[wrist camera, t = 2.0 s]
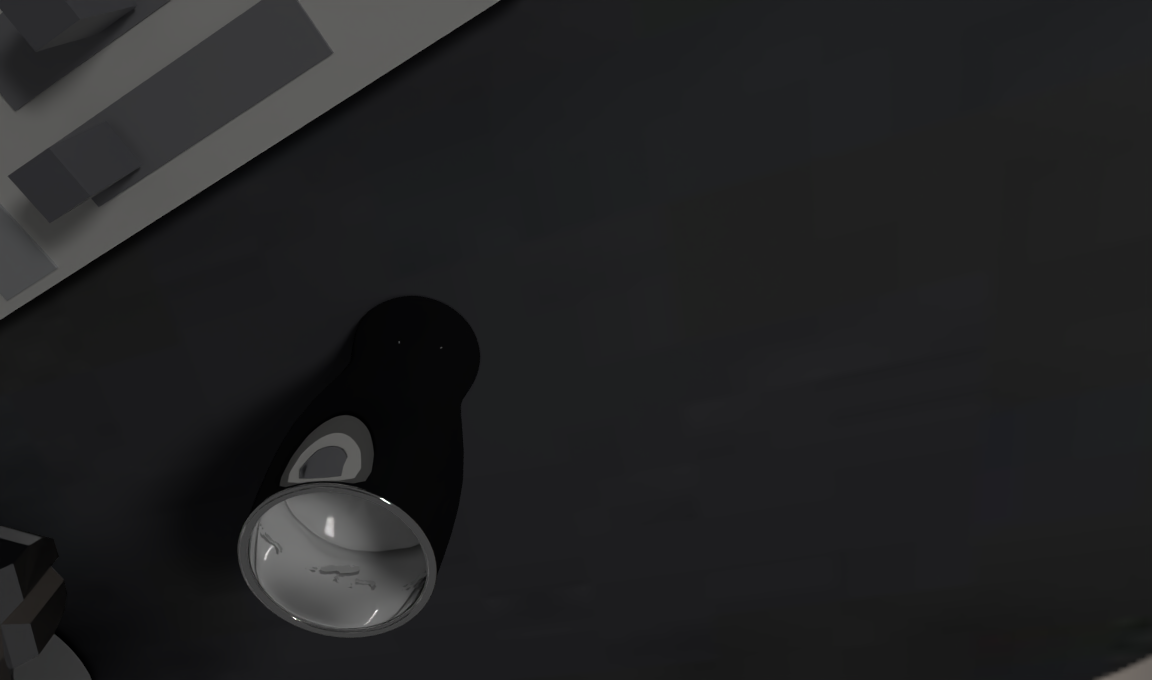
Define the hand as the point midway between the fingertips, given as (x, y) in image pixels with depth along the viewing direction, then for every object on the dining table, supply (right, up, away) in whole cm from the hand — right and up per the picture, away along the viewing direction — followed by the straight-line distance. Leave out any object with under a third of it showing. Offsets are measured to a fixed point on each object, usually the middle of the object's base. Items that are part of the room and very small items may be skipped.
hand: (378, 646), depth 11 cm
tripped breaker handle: (-15, +16, +21) cm, 30 cm away
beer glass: (-5, +3, +31) cm, 32 cm away
